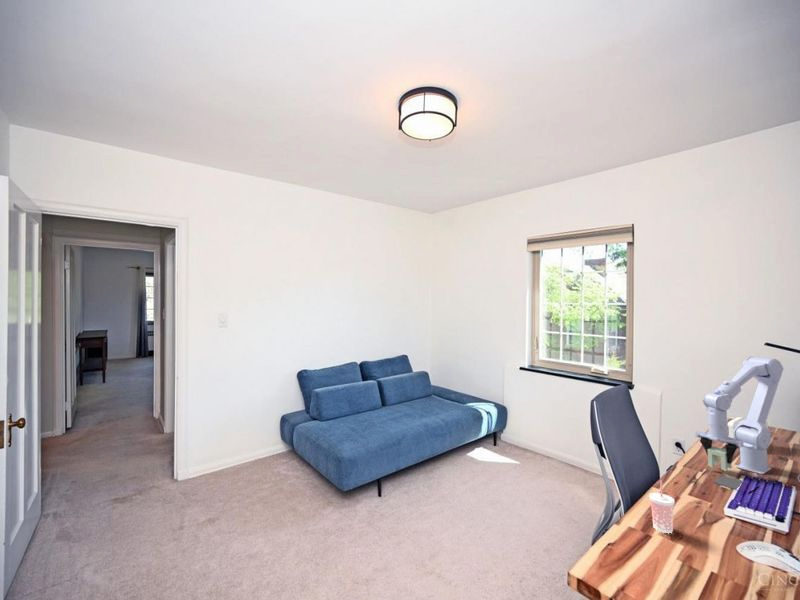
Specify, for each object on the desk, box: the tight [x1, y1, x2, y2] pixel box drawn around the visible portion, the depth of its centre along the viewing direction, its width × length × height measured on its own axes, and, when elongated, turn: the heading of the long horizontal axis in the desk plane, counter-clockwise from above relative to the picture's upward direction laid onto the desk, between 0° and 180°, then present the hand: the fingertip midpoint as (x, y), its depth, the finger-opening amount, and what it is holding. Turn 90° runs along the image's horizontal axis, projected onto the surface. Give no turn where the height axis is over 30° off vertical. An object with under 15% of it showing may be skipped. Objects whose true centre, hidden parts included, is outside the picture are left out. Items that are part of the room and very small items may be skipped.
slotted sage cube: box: [707, 445, 733, 472], centre depth 147 cm, size 6×6×6 cm
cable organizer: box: [727, 416, 769, 439], centre depth 173 cm, size 15×11×12 cm
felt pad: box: [712, 475, 745, 491], centre depth 136 cm, size 10×10×1 cm
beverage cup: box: [648, 479, 676, 535], centre depth 110 cm, size 6×6×14 cm
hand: (719, 460), depth 147 cm, fingers closed on slotted sage cube, 5 cm apart
